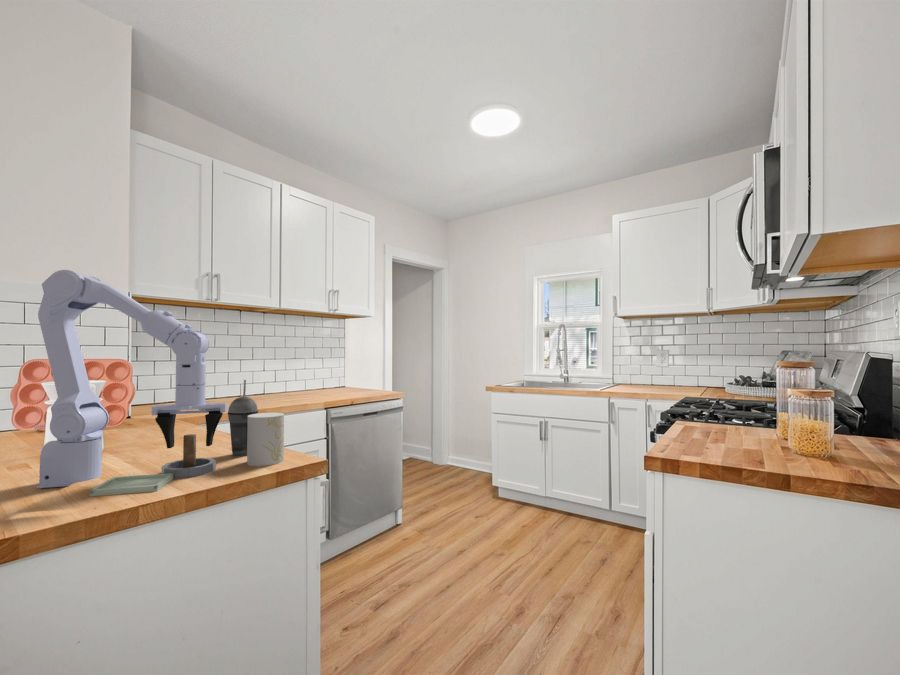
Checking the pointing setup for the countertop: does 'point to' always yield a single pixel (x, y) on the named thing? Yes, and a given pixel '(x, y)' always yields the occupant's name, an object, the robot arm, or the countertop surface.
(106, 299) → the robot arm
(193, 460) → the dowel
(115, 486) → the tray
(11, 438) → the countertop surface
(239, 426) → the beverage cup
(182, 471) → the ramekin
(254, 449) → the cup
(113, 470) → the countertop surface
